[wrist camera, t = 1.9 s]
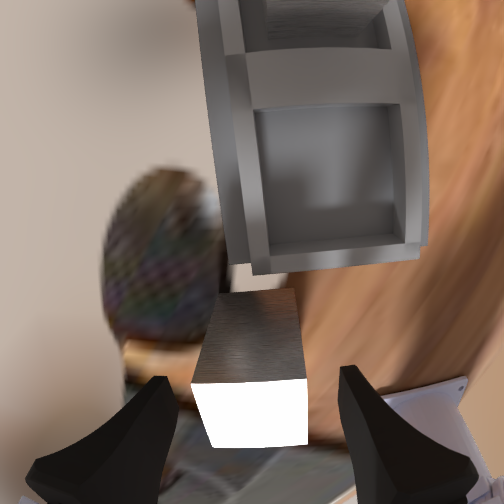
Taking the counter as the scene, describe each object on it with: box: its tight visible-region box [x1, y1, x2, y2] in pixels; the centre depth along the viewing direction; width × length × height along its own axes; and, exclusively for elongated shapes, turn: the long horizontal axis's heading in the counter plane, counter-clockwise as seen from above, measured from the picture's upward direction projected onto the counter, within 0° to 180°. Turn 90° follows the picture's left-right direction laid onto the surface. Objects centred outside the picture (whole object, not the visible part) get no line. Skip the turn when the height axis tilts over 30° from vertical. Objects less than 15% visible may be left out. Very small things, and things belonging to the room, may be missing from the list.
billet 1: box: [191, 287, 307, 447], centre depth 14 cm, size 4×4×7 cm
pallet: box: [195, 0, 429, 276], centre depth 12 cm, size 16×10×2 cm, turn 7°
